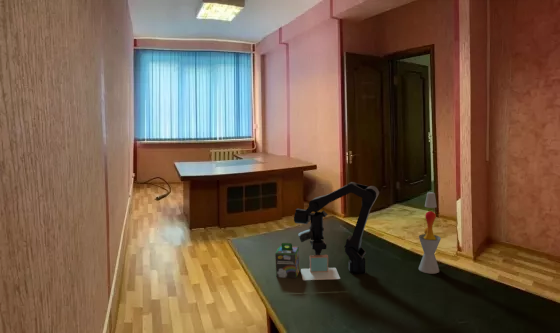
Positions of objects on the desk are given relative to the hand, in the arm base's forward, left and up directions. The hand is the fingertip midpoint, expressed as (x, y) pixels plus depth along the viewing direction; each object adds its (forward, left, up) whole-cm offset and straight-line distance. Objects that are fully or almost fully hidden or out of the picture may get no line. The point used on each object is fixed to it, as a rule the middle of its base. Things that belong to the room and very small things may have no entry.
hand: (317, 257), depth 175 cm
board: (0, +9, -4) cm, 10 cm away
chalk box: (+14, +8, -4) cm, 17 cm away
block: (0, +6, -4) cm, 7 cm away
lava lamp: (-49, +8, -4) cm, 50 cm away
